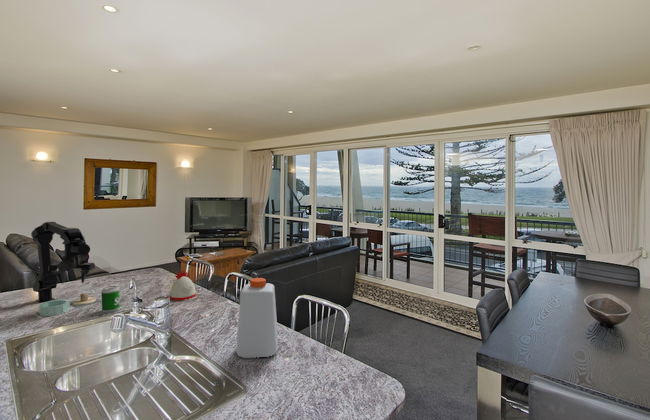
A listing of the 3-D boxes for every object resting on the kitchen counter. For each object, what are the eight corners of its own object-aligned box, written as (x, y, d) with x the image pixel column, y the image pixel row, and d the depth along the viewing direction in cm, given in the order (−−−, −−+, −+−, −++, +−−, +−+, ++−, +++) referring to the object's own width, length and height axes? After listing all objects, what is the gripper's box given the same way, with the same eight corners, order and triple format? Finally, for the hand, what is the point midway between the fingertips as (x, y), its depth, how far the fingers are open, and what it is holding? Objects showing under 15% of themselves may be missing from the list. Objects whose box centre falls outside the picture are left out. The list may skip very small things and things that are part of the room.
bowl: (36, 313, 161) (35, 304, 161) (64, 306, 171) (64, 298, 170) (44, 318, 155) (43, 309, 155) (73, 311, 164) (72, 302, 164)
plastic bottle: (241, 340, 136) (241, 274, 134) (278, 340, 137) (279, 274, 135) (234, 360, 121) (234, 285, 119) (275, 359, 122) (276, 285, 120)
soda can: (111, 314, 161) (110, 290, 161) (98, 312, 163) (97, 289, 162) (123, 308, 169) (122, 286, 168) (110, 307, 170) (110, 284, 169)
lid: (68, 302, 175) (68, 294, 175) (91, 297, 184) (90, 289, 184) (76, 306, 169) (76, 298, 169) (99, 301, 178) (99, 293, 178)
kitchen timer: (165, 296, 188) (165, 271, 187) (188, 291, 199) (188, 266, 198) (176, 302, 179) (176, 275, 178) (200, 296, 190) (200, 270, 189)
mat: (65, 303, 176) (65, 302, 176) (91, 297, 186) (91, 296, 186) (76, 308, 168) (76, 308, 168) (102, 302, 178) (102, 301, 178)
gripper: (40, 256, 157) (41, 288, 159) (83, 256, 161) (84, 287, 162) (55, 252, 168) (55, 281, 169) (95, 251, 172) (95, 281, 173)
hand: (72, 283), depth 168 cm, fingers open, 9 cm apart
